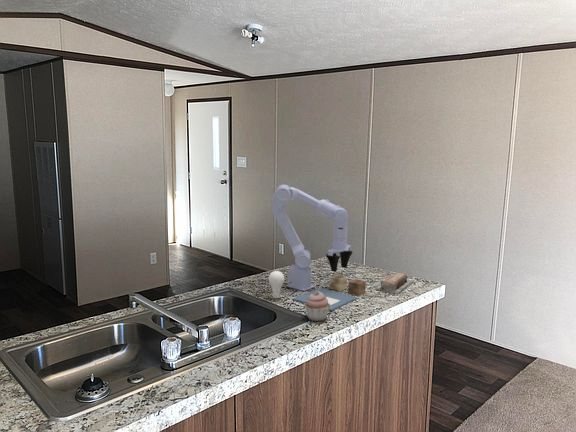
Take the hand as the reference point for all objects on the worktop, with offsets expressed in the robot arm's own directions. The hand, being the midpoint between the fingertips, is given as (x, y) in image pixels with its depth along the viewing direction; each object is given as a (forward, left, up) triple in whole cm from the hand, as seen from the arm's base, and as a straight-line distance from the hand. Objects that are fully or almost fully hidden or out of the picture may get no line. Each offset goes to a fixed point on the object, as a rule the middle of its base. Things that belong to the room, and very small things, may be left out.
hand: (338, 269), depth 199 cm
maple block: (0, 0, -8) cm, 8 cm away
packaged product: (+16, +19, -9) cm, 26 cm away
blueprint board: (+4, -15, -8) cm, 18 cm away
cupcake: (+13, -33, -8) cm, 36 cm away
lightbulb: (-11, -27, -8) cm, 30 cm away
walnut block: (+9, 0, -8) cm, 12 cm away
